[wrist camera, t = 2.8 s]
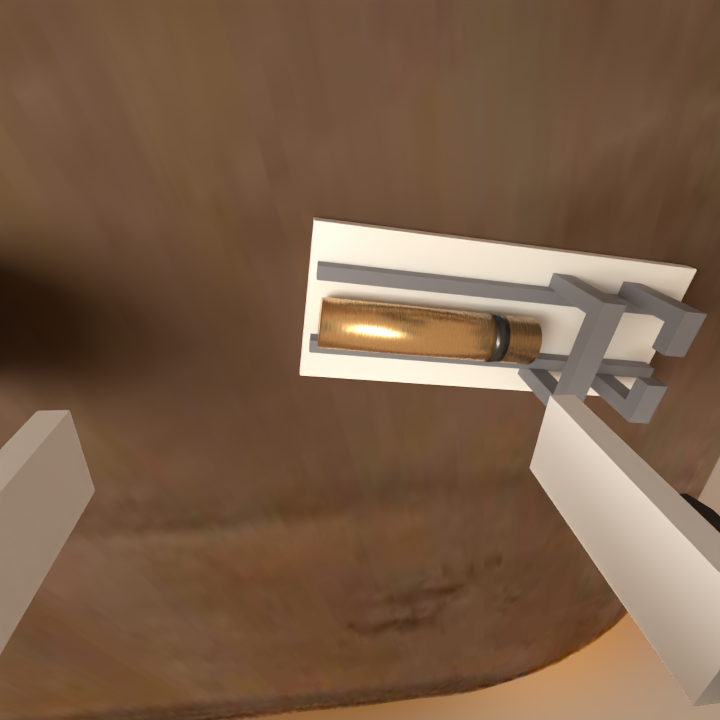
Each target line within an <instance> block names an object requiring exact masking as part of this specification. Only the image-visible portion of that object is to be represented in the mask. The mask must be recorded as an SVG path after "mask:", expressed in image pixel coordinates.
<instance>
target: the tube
mask: <svg viewBox="0 0 720 720" xmlns="http://www.w3.org/2000/svg"><path fill="white" fill-rule="evenodd" d="M541 345H542V330H541V327H540V324H539V322H538V321H537V320H536V319H534V318H527V317H517V316H507V315H502V314H492V313H478V312H468V311H458V310H448V309H438V308H428V307H418V306H408V305H398V304H388V303H378V302H369V301H359V300H349V299H339V298H329V297H322V298H321V303H320V311H319V320H318V335H317V346H318V348H325V349H337V350H350V351H362V352H374V353H387V354H399V355H411V356H423V357H436V358H448V359H460V360H473V361H482V362H492V363H510V364H522V365H529V364H531V363H533V362H534V361H535V360H536V358H537V357H538V355H539V352H540V349H541Z"/></svg>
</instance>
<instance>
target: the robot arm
mask: <svg viewBox="0 0 720 720" xmlns="http://www.w3.org/2000/svg"><path fill="white" fill-rule="evenodd" d="M530 469H531V471H532V472H533V474H534V475H535V477H536V478H537V480H538V481H539V483H540V484H541V486H542V487H543V488H544V490H545V491H546V493H547V494H548V496H549V497H550V499H551V500H552V502H553V503H554V505H555V506H556V507H557V509H558V510H559V512H560V513H561V515H562V516H563V518H564V519H565V521H566V522H567V524H568V525H569V526H570V528H571V529H572V531H573V532H574V534H575V535H576V537H577V538H578V540H579V541H580V543H581V544H582V545H583V547H584V548H585V550H586V551H587V553H588V554H589V556H590V557H591V559H592V560H593V562H594V563H595V564H596V566H597V567H598V569H599V570H600V572H601V573H602V575H603V576H604V578H605V579H606V581H607V582H608V583H609V585H610V586H611V588H612V589H613V591H614V592H615V594H616V595H617V597H618V598H619V600H620V601H621V602H622V604H623V605H624V607H625V608H626V610H627V611H628V613H629V614H630V616H631V617H632V618H633V620H634V621H635V623H636V624H637V626H638V627H639V629H640V630H641V632H642V633H643V634H644V636H645V638H646V639H647V640H648V642H649V643H650V645H651V646H652V648H653V649H654V651H655V652H656V654H657V655H658V656H659V658H660V659H661V661H662V662H663V664H664V665H665V667H666V668H667V670H668V671H669V673H670V674H671V676H672V677H673V678H674V680H675V681H676V683H677V684H678V686H679V687H680V689H681V690H682V692H683V693H684V695H685V696H686V697H687V699H688V700H689V702H690V703H691V705H692V706H700V705H708V704H715V703H720V516H719V515H718V514H717V513H716V512H714V511H713V510H712V509H711V508H709V507H708V506H706V505H704V504H703V503H701V502H699V501H698V500H696V499H695V498H693V497H691V496H690V495H688V494H678V493H677V492H676V491H675V490H674V489H673V488H672V487H671V486H670V485H669V484H668V483H667V482H666V481H665V480H664V479H663V478H661V477H660V476H659V475H658V474H657V473H656V472H655V471H654V470H653V469H652V468H651V467H650V466H649V465H648V464H647V463H646V462H645V461H644V460H643V459H642V458H640V457H639V456H638V455H637V454H636V453H635V452H634V451H633V450H632V449H631V448H630V447H629V446H628V445H627V444H626V443H625V442H624V441H623V440H622V439H621V438H619V437H618V436H617V435H616V434H615V433H614V432H613V431H612V430H611V429H610V428H609V427H608V426H607V425H606V424H605V423H604V422H603V421H602V420H601V419H599V418H598V417H597V416H596V415H595V414H594V413H593V412H592V411H591V410H590V409H589V408H588V407H587V406H586V405H585V404H584V403H583V402H582V401H581V400H580V399H578V398H577V397H576V396H575V395H550V397H549V401H548V404H547V408H546V411H545V415H544V419H543V422H542V426H541V429H540V433H539V437H538V440H537V444H536V447H535V451H534V455H533V458H532V462H531V465H530ZM94 492H95V489H94V486H93V483H92V480H91V477H90V473H89V470H88V467H87V464H86V461H85V458H84V454H83V451H82V448H81V445H80V442H79V438H78V435H77V432H76V429H75V426H74V422H73V419H72V416H71V413H70V410H52V411H37V412H36V413H35V414H34V415H33V416H32V417H31V418H30V419H29V420H28V421H27V422H26V423H25V424H24V425H23V426H22V427H21V428H20V430H19V431H18V432H17V433H16V434H15V435H14V436H13V437H12V438H11V439H10V440H9V441H8V442H7V443H6V444H5V445H4V446H3V447H2V448H1V449H0V654H1V652H2V651H3V649H4V647H5V645H6V644H7V642H8V640H9V639H10V637H11V635H12V633H13V632H14V630H15V628H16V626H17V625H18V623H19V621H20V620H21V618H22V616H23V614H24V613H25V611H26V609H27V607H28V606H29V604H30V602H31V601H32V599H33V597H34V595H35V594H36V592H37V590H38V588H39V587H40V585H41V583H42V582H43V580H44V578H45V576H46V575H47V573H48V571H49V570H50V568H51V566H52V564H53V563H54V561H55V559H56V557H57V556H58V554H59V552H60V551H61V549H62V547H63V545H64V544H65V542H66V540H67V538H68V537H69V535H70V533H71V532H72V530H73V528H74V526H75V525H76V523H77V521H78V519H79V518H80V516H81V514H82V513H83V511H84V509H85V507H86V506H87V504H88V502H89V501H90V499H91V497H92V495H93V494H94Z"/></svg>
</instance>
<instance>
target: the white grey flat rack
mask: <svg viewBox="0 0 720 720" xmlns="http://www.w3.org/2000/svg"><path fill="white" fill-rule="evenodd" d="M696 271H697V269H695V268H692V267H689V266H686V265H680V264H672V263H665V262H657V261H649V260H642V259H634V258H626V257H618V256H611V255H603V254H595V253H587V252H580V251H572V250H564V249H557V248H549V247H541V246H533V245H526V244H518V243H510V242H502V241H495V240H487V239H479V238H471V237H464V236H456V235H448V234H441V233H433V232H425V231H417V230H410V229H402V228H394V227H386V226H379V225H371V224H363V223H356V222H348V221H340V220H332V219H325V218H317V217H314V222H313V232H312V243H311V254H310V265H309V275H308V286H307V297H306V307H305V318H304V329H303V340H302V350H301V361H300V375H303V376H318V377H333V378H347V379H362V380H376V381H391V382H405V383H420V384H434V385H449V386H464V387H478V388H493V389H507V390H522V391H533V392H534V393H535V395H536V396H537V397H538V398H539V399H540V400H541V402H542V403H543V404H544V405H545V406H546V407H547V404H548V401H549V397H550V395H575V396H576V397H577V398H578V399H580V400H581V401H582V402H584V400H585V397H586V395H595V396H601V397H602V398H603V399H604V400H605V401H606V402H607V403H609V404H610V405H611V406H612V407H613V408H614V409H615V410H616V411H617V412H618V413H620V414H621V415H622V416H623V417H624V418H625V419H626V420H627V421H628V422H633V423H649V421H650V419H651V417H652V415H653V413H654V411H655V410H656V408H657V406H658V404H659V402H660V400H661V399H662V397H663V395H664V393H665V391H666V389H667V388H668V387H667V386H666V385H665V384H663V383H662V382H660V381H659V380H658V379H656V378H650V377H651V375H652V373H653V371H654V369H655V368H653V367H652V366H650V365H649V363H650V361H651V359H652V357H653V356H654V354H655V352H656V351H658V352H659V353H661V354H662V355H664V356H676V357H684V356H685V354H686V353H687V351H688V349H689V347H690V345H691V343H692V342H693V340H694V338H695V336H696V334H697V332H698V331H699V329H700V327H701V325H702V323H703V321H704V320H705V318H706V316H707V314H706V313H704V312H702V311H699V310H697V309H695V308H693V307H691V306H689V305H687V304H684V303H682V302H681V300H682V298H683V296H684V294H685V292H686V290H687V288H688V286H689V284H690V282H691V281H692V279H693V277H694V275H695V273H696ZM322 297H329V298H339V299H349V300H359V301H369V302H378V303H388V304H398V305H408V306H418V307H428V308H438V309H448V310H458V311H468V312H478V313H492V314H502V315H507V316H517V317H527V318H534V319H536V320H537V321H538V322H539V324H540V327H541V330H542V345H541V349H540V352H539V355H538V357H537V358H536V360H535V361H534V362H533V363H531V364H529V365H522V364H510V363H492V362H482V361H473V360H460V359H448V358H436V357H423V356H411V355H399V354H387V353H374V352H362V351H350V350H337V349H325V348H318V346H317V335H318V320H319V311H320V303H321V298H322Z"/></svg>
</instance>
